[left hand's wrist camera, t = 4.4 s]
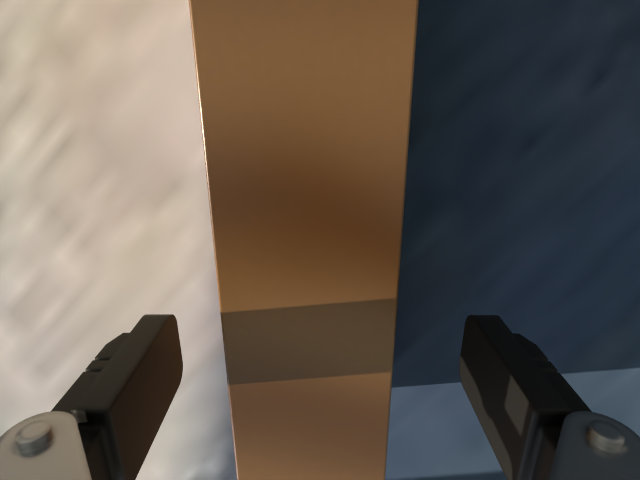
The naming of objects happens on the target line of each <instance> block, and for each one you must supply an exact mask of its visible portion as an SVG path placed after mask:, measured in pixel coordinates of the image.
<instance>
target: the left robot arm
mask: <svg viewBox="0 0 640 480" xmlns="http://www.w3.org/2000/svg"><path fill="white" fill-rule="evenodd" d="M182 371H183V361H182V354H181V347H180V340H179V333H178V326H177V320H176V318H175V316H174V315H144V316H143V317H142V318H141V319H140V321H139V322H138V323H137V325H136V326H135V327H134V328H133V330H132V331H131V332H130V333H123V334H121V335H120V336H118V337H117V338H115V339H114V340H112V341H111V342H109V343H108V344H106V345H105V346H104V348H103V349H102V350H101V351H100V352H99V354H98V355H97V356H96V357H95V361H92V362H91V363H90V365H89V366H88V367H87V368H86V372H83V373H82V374H81V375H80V377H79V378H78V379H77V380H76V382H75V383H74V384H73V385H72V386H71V388H70V389H69V390H68V391H67V392H66V394H65V395H64V396H63V397H62V398H61V400H60V401H59V402H58V403H57V405H56V406H55V407H54V408H53V409H52V411H51V412H45V413H41V414H38V415H35V416H32V417H30V418H27V419H25V420H23V421H21V422H19V423H18V424H16V425H15V426H13V427H12V428H10V429H9V430H8V431H6V432H5V433H4V434H3V435H2V436H1V437H0V480H135V479H136V477H137V475H138V473H139V470H140V468H141V466H142V464H143V462H144V460H145V458H146V456H147V453H148V451H149V449H150V447H151V445H152V443H153V441H154V438H155V436H156V434H157V432H158V430H159V428H160V426H161V424H162V421H163V419H164V417H165V415H166V413H167V411H168V409H169V406H170V404H171V402H172V400H173V398H174V396H175V394H176V392H177V389H178V387H179V385H180V382H181V378H182ZM459 371H460V378H461V383H462V385H463V388H464V390H465V392H466V394H467V396H468V398H469V400H470V403H471V405H472V407H473V409H474V411H475V413H476V415H477V417H478V419H479V422H480V424H481V426H482V428H483V430H484V432H485V434H486V436H487V438H488V440H489V443H490V445H491V447H492V449H493V451H494V453H495V455H496V457H497V459H498V462H499V464H500V466H501V468H502V470H503V472H504V474H505V476H506V478H507V480H640V437H639V436H638V435H637V434H636V433H635V432H634V431H632V430H631V429H630V428H628V427H627V426H625V425H624V424H622V423H621V422H619V421H617V420H615V419H613V418H610V417H608V416H605V415H602V414H599V413H595V412H592V411H591V410H590V409H589V408H588V406H587V405H586V404H585V403H584V402H583V400H582V399H581V398H580V397H579V396H578V394H577V393H576V392H575V391H574V390H573V388H572V387H571V386H570V385H569V384H568V382H567V381H566V380H565V379H564V378H563V376H562V375H561V374H560V373H557V369H556V368H555V367H554V366H553V364H552V363H551V362H548V358H547V357H546V356H545V355H544V354H543V352H542V351H541V350H540V349H539V348H538V346H537V345H535V344H534V343H532V342H531V341H529V340H528V339H526V338H525V337H523V336H522V335H520V334H512V332H511V331H510V330H509V328H508V327H507V326H506V325H505V323H504V322H503V321H502V319H501V318H500V317H499V316H497V315H469V316H468V317H467V319H466V322H465V328H464V335H463V342H462V349H461V356H460V363H459Z"/></svg>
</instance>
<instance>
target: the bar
mask: <svg viewBox="0 0 640 480" xmlns="http://www.w3.org/2000/svg"><path fill="white" fill-rule="evenodd" d="M418 6H419V0H189V7H190V17H191V27H192V37H193V47H194V56H195V66H196V76H197V86H198V96H199V106H200V116H201V126H202V135H203V145H204V155H205V165H206V175H207V185H208V195H209V204H210V214H211V224H212V234H213V244H214V254H215V264H216V274H217V283H218V293H219V303H220V313H221V323H222V333H223V343H224V353H225V362H226V372H227V382H228V392H229V402H230V412H231V422H232V431H233V441H234V451H235V461H236V471H237V480H385V472H386V458H387V444H388V430H389V415H390V401H391V387H392V373H393V359H394V345H395V331H396V316H397V302H398V288H399V274H400V260H401V246H402V232H403V218H404V203H405V189H406V175H407V161H408V147H409V133H410V119H411V105H412V90H413V76H414V62H415V48H416V34H417V20H418Z"/></svg>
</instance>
